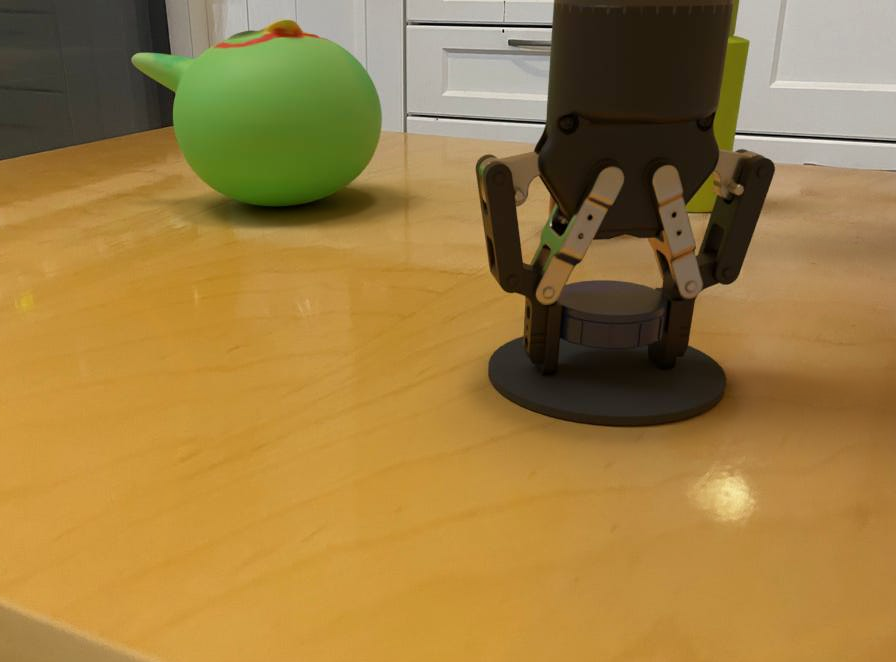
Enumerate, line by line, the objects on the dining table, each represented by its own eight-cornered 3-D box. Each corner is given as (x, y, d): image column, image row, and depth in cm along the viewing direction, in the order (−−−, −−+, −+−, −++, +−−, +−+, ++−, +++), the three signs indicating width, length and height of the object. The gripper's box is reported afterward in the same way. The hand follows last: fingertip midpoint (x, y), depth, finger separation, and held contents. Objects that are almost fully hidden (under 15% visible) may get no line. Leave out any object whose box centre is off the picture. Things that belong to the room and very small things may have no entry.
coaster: (672, 331, 54) (673, 322, 54) (767, 417, 44) (769, 408, 44) (468, 341, 53) (468, 332, 53) (517, 433, 43) (518, 423, 42)
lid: (567, 352, 45) (570, 318, 44) (538, 314, 49) (540, 282, 49) (681, 346, 45) (685, 312, 44) (641, 308, 50) (644, 277, 49)
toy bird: (259, 237, 73) (242, 26, 66) (141, 203, 83) (114, 17, 76) (419, 200, 84) (419, 16, 77) (298, 174, 94) (288, 10, 87)
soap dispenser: (747, 207, 82) (792, -60, 72) (684, 215, 79) (721, -61, 69) (702, 194, 86) (738, -59, 76) (641, 201, 84) (670, -59, 74)
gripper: (495, -2, 36) (480, 403, 44) (848, -4, 38) (769, 387, 46) (461, -8, 42) (453, 347, 51) (762, -9, 44) (707, 335, 52)
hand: (603, 365), depth 48 cm, fingers closed on lid, 5 cm apart
